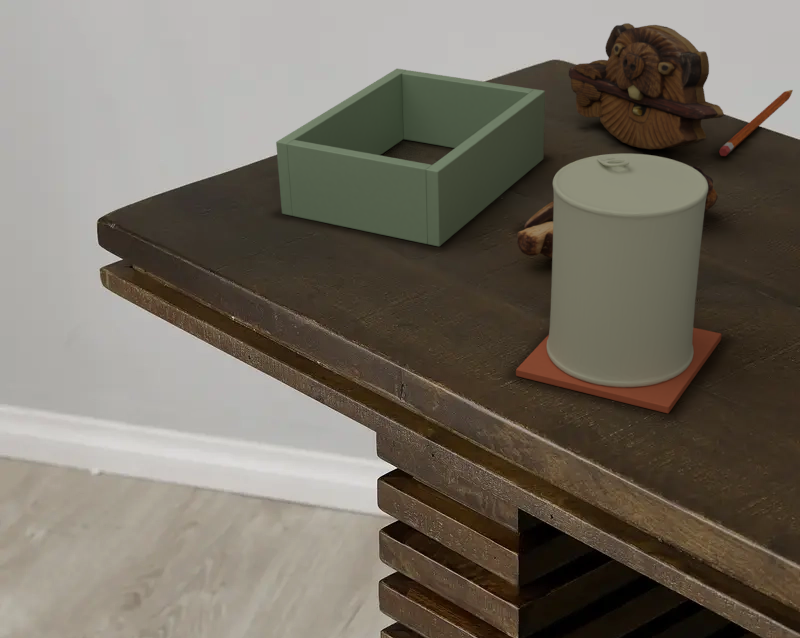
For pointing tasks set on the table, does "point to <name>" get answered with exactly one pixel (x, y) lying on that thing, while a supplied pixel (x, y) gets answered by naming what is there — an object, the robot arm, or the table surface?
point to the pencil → (755, 123)
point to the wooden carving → (647, 88)
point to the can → (625, 268)
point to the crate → (406, 180)
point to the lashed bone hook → (541, 235)
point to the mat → (644, 396)
